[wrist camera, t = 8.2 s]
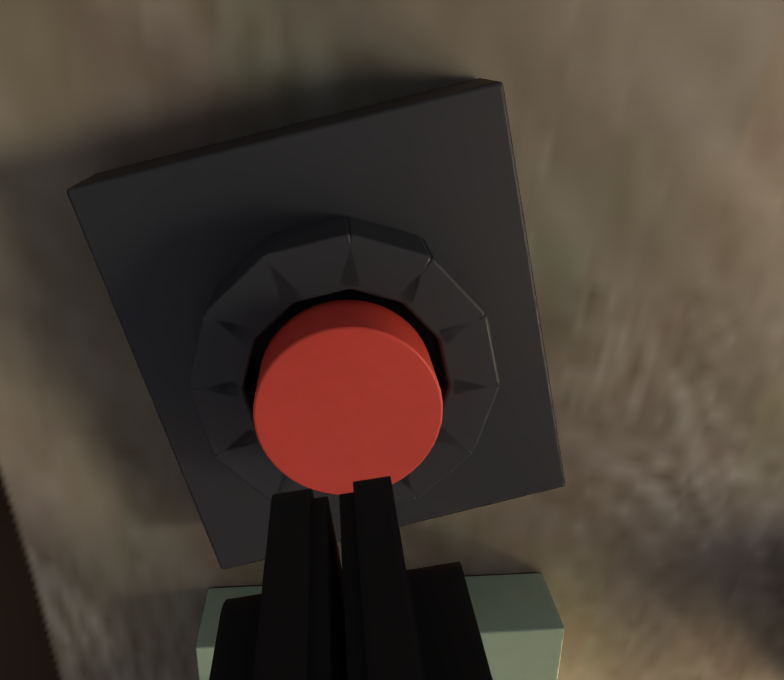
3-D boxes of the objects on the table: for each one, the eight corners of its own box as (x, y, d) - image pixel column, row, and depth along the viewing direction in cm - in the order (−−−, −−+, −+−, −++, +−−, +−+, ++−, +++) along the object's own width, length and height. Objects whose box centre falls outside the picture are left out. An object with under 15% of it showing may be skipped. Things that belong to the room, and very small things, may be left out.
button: (447, 432, 17) (459, 471, 16) (287, 471, 17) (283, 514, 16) (412, 279, 16) (422, 305, 14) (237, 322, 16) (226, 354, 14)
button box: (544, 446, 22) (588, 526, 18) (230, 523, 22) (212, 619, 18) (482, 76, 18) (524, 84, 14) (93, 173, 18) (33, 206, 14)
